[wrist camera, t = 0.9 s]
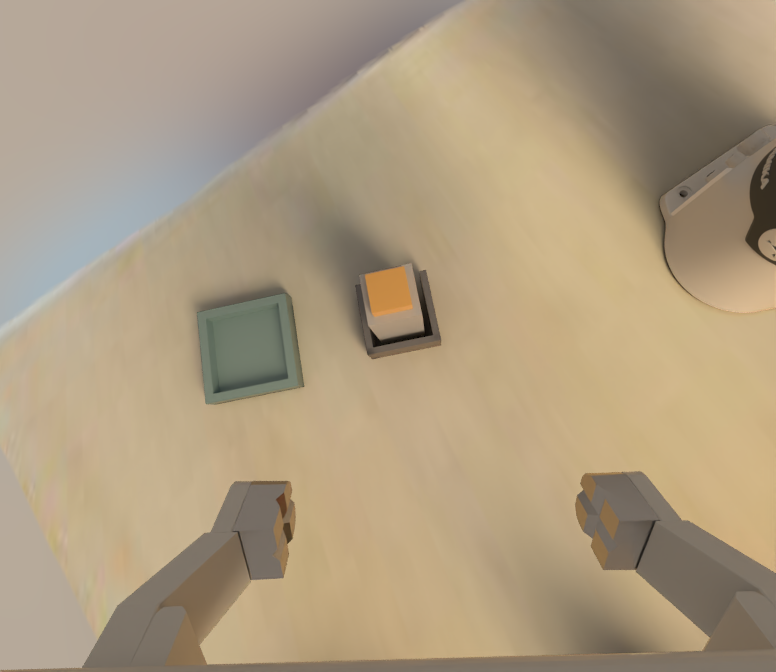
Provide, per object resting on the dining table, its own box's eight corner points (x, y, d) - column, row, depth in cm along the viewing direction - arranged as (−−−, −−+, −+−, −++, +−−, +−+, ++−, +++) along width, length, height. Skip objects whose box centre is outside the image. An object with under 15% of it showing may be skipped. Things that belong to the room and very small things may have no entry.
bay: (426, 279, 47) (425, 269, 44) (440, 345, 46) (441, 340, 42) (361, 294, 48) (355, 285, 45) (372, 358, 46) (367, 355, 43)
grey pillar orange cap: (416, 294, 47) (410, 257, 36) (425, 335, 46) (421, 310, 35) (375, 303, 48) (355, 269, 36) (383, 343, 47) (365, 322, 35)
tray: (291, 297, 49) (285, 293, 47) (304, 386, 47) (298, 385, 45) (206, 316, 50) (197, 312, 48) (215, 404, 48) (205, 404, 46)
